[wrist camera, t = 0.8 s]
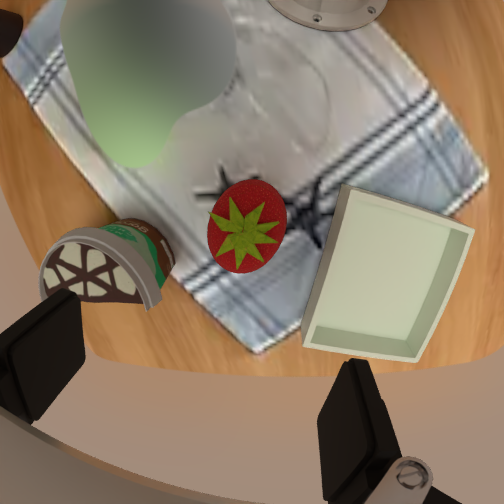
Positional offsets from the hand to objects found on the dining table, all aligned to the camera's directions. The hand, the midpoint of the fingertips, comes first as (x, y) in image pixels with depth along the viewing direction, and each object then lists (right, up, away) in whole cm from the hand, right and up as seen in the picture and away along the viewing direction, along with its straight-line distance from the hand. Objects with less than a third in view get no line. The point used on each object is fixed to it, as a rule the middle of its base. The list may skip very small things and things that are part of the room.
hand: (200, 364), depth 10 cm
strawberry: (+2, +7, +20) cm, 21 cm away
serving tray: (+15, +1, +20) cm, 25 cm away
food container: (-11, +5, +21) cm, 25 cm away
